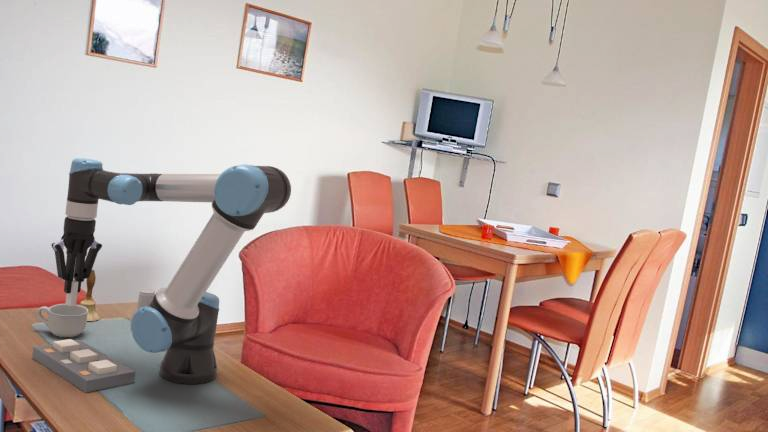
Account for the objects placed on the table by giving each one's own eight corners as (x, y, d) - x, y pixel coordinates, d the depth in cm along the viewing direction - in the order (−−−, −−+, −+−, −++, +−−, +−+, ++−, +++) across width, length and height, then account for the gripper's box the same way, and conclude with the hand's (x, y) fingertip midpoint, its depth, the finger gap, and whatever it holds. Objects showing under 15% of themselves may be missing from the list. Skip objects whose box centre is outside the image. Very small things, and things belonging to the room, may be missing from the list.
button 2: (115, 373, 171) (116, 365, 171) (98, 377, 167) (99, 368, 167) (105, 367, 174) (106, 359, 174) (87, 371, 170) (88, 362, 170)
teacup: (92, 333, 206) (95, 307, 205) (72, 343, 195) (75, 316, 194) (49, 325, 207) (51, 299, 206) (27, 334, 196) (30, 307, 195)
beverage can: (135, 324, 220) (139, 288, 218) (150, 325, 221) (155, 289, 220) (135, 329, 215) (139, 292, 214) (151, 330, 217) (155, 293, 216)
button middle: (96, 362, 177) (97, 354, 176) (79, 365, 173) (80, 357, 173) (87, 356, 179) (88, 348, 179) (69, 359, 176) (70, 351, 175)
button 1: (79, 352, 182) (80, 344, 182) (61, 354, 178) (62, 346, 178) (70, 346, 185) (70, 339, 185) (52, 349, 181) (53, 341, 181)
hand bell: (79, 313, 223) (85, 265, 221) (104, 317, 223) (110, 270, 221) (67, 319, 214) (72, 270, 213) (92, 323, 214) (98, 274, 213)
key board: (134, 382, 174) (135, 371, 173) (85, 392, 163) (87, 380, 163) (79, 350, 190) (80, 339, 189) (32, 357, 179) (33, 346, 179)
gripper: (96, 215, 185) (86, 298, 188) (48, 214, 175) (39, 302, 177) (111, 220, 181) (100, 306, 183) (63, 220, 170) (53, 310, 173)
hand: (70, 304), depth 180 cm, fingers closed
